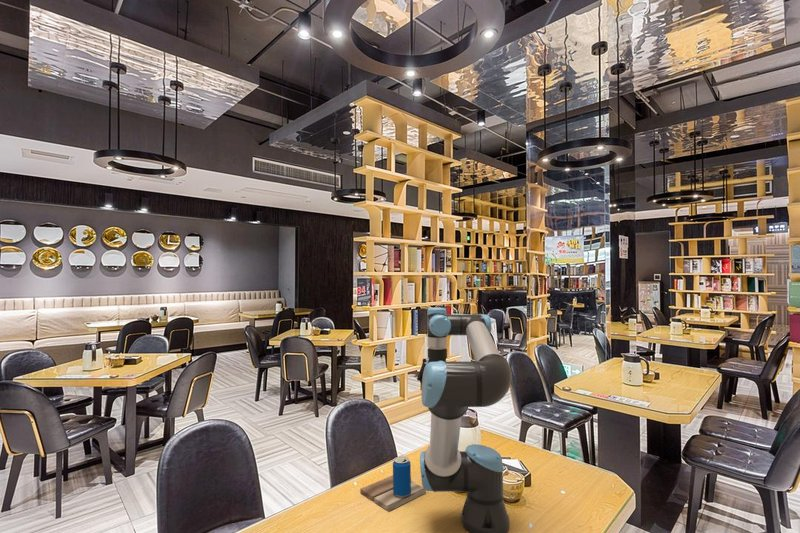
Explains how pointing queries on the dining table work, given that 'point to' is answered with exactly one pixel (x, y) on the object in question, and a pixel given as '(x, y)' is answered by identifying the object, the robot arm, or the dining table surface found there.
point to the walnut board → (377, 488)
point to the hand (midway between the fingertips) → (437, 403)
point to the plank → (393, 501)
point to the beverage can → (401, 476)
